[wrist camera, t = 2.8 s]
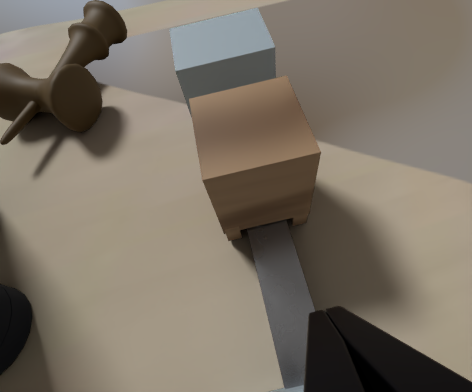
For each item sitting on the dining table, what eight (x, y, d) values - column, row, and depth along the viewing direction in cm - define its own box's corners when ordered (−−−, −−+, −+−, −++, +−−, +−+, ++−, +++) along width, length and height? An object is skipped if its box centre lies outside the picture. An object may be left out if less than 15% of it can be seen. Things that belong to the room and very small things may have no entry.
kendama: (153, 44, 37) (66, 171, 28) (89, 42, 40) (-11, 158, 30) (132, -9, 32) (17, 124, 23) (61, -7, 35) (-70, 113, 25)
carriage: (307, 222, 22) (320, 151, 15) (227, 241, 22) (202, 180, 15) (284, 158, 25) (286, 75, 18) (214, 175, 25) (188, 98, 18)
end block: (276, 105, 28) (275, 47, 23) (194, 124, 28) (175, 71, 23) (261, 66, 31) (257, 7, 26) (187, 84, 32) (169, 28, 26)
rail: (332, 376, 17) (336, 377, 16) (284, 387, 17) (284, 389, 16) (249, 111, 28) (247, 99, 27) (220, 118, 28) (217, 106, 27)
